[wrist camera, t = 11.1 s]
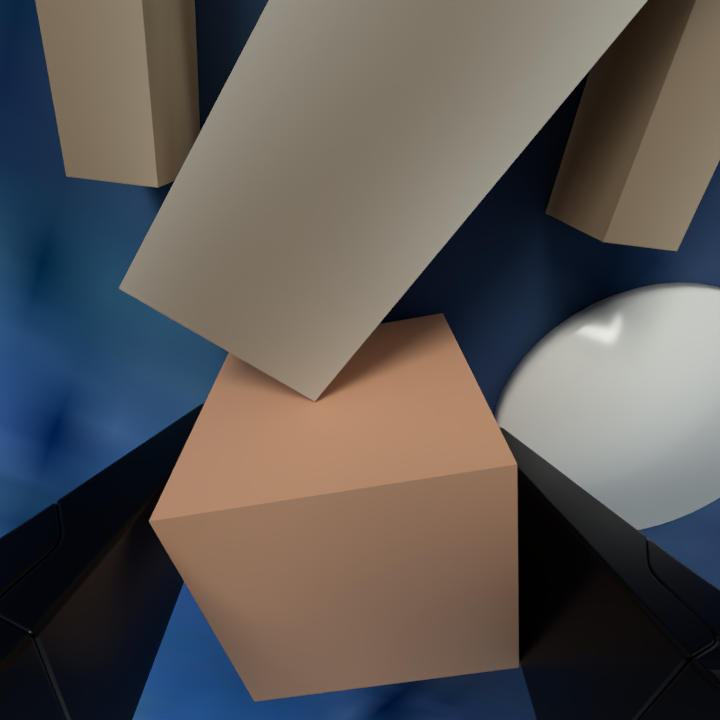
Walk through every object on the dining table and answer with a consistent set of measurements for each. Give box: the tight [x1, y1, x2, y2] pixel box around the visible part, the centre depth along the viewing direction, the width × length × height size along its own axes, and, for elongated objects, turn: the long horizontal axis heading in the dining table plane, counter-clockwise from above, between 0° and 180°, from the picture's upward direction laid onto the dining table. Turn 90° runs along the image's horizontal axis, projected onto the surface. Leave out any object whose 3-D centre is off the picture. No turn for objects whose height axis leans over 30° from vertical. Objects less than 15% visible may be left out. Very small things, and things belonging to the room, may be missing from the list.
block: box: [149, 313, 519, 702], centre depth 8 cm, size 4×4×4 cm
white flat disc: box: [493, 282, 720, 530], centre depth 11 cm, size 7×7×1 cm
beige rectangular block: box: [119, 0, 648, 402], centre depth 7 cm, size 3×8×3 cm, turn 143°
